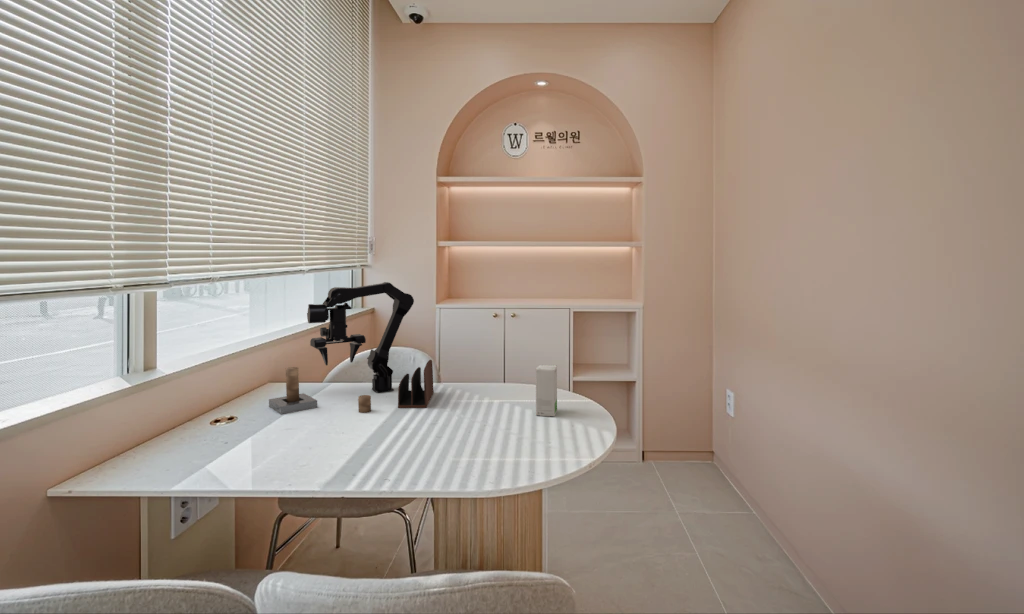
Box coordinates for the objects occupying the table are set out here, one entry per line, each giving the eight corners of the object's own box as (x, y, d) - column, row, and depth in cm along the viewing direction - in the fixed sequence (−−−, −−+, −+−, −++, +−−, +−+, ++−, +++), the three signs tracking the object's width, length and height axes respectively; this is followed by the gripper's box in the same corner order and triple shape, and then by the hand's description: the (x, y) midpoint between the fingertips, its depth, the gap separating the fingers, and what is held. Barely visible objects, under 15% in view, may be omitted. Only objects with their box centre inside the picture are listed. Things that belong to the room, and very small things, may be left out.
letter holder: (433, 393, 199) (433, 356, 197) (426, 408, 179) (426, 368, 178) (407, 393, 198) (406, 356, 197) (397, 408, 179) (397, 368, 177)
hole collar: (304, 400, 188) (303, 393, 187) (317, 407, 179) (317, 400, 179) (269, 406, 180) (268, 399, 179) (281, 414, 171) (280, 406, 171)
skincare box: (554, 417, 170) (555, 370, 168) (534, 416, 171) (534, 369, 169) (557, 410, 178) (558, 364, 176) (538, 408, 179) (538, 364, 177)
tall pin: (300, 404, 182) (298, 366, 180) (299, 408, 178) (297, 369, 177) (287, 405, 181) (286, 367, 179) (286, 409, 177) (284, 369, 175)
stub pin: (368, 408, 178) (367, 394, 177) (372, 411, 175) (372, 396, 174) (356, 410, 175) (356, 396, 175) (361, 413, 172) (360, 398, 172)
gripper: (354, 318, 203) (355, 357, 205) (305, 321, 192) (306, 363, 194) (365, 320, 195) (366, 362, 196) (314, 324, 183) (315, 368, 185)
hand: (339, 363), depth 193 cm, fingers open, 9 cm apart
